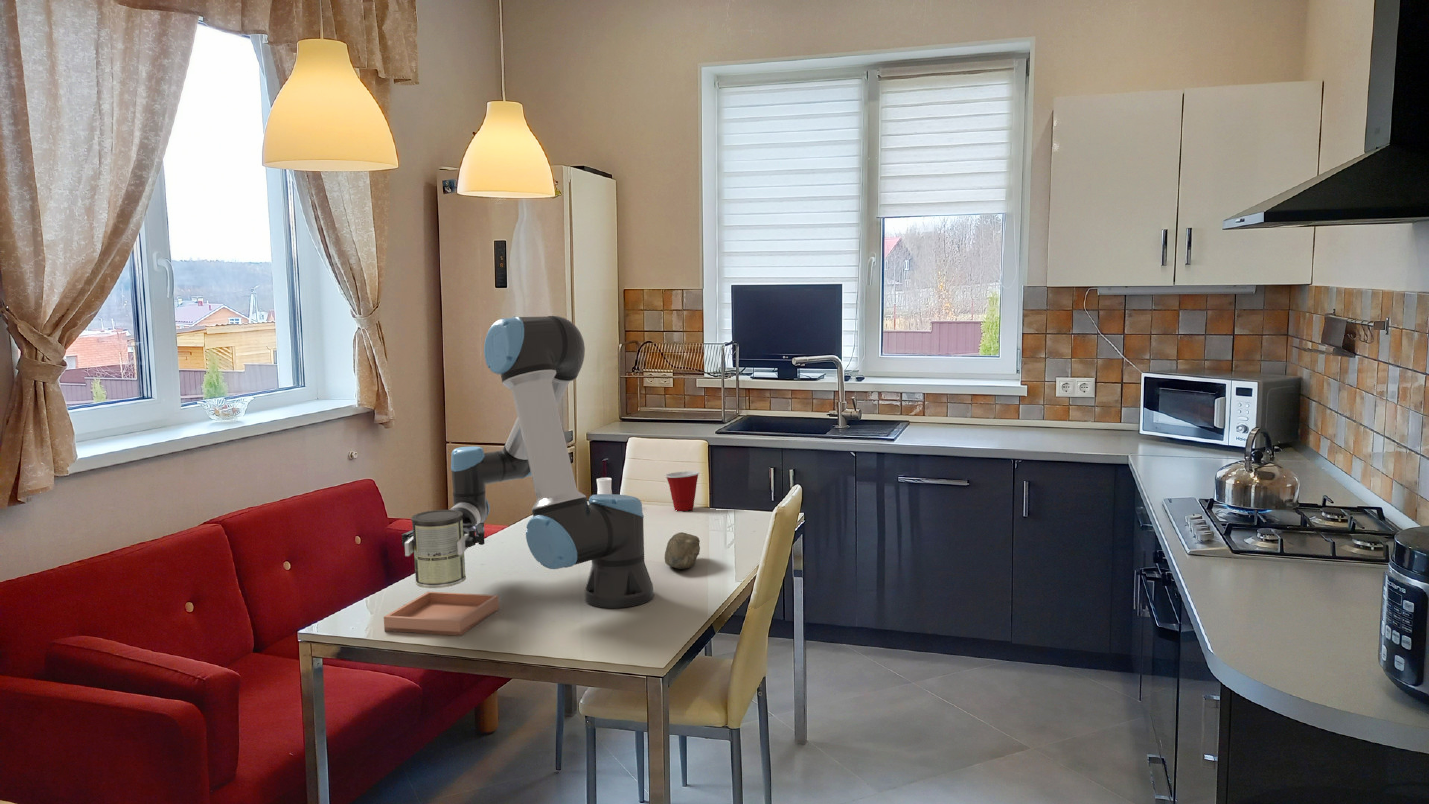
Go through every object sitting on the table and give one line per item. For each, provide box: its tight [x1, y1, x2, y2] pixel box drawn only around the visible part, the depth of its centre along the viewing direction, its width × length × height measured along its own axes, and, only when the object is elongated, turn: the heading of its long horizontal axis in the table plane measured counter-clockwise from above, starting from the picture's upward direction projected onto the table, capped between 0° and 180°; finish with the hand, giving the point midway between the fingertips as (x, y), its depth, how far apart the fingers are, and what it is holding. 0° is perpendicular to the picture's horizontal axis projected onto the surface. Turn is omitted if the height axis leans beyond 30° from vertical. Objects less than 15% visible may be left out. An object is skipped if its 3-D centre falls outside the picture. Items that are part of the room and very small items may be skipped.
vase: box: [596, 477, 613, 494], centre depth 301 cm, size 8×8×10 cm
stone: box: [664, 531, 701, 570], centre depth 235 cm, size 17×9×8 cm, turn 178°
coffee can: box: [411, 509, 467, 589], centre depth 198 cm, size 10×10×14 cm
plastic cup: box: [664, 470, 700, 512], centre depth 297 cm, size 11×11×12 cm
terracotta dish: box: [383, 591, 500, 637], centre depth 199 cm, size 17×17×3 cm
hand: (433, 549), depth 193 cm, fingers closed on coffee can, 10 cm apart
